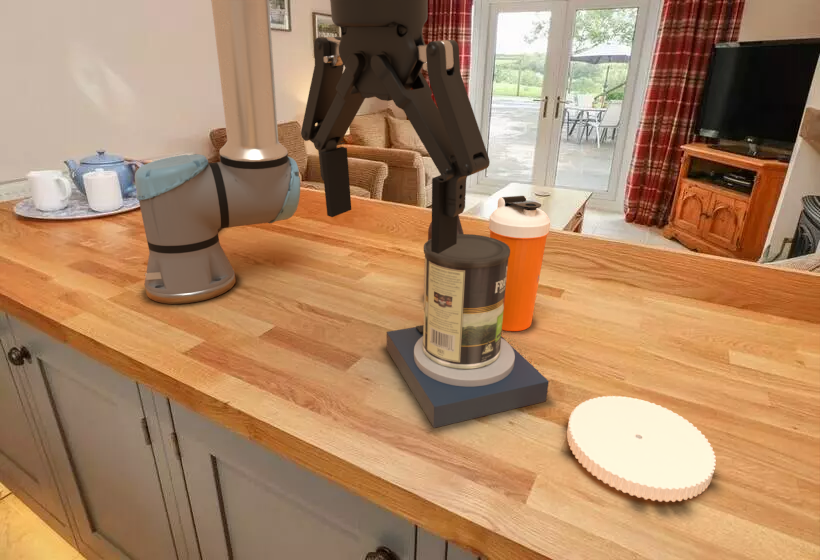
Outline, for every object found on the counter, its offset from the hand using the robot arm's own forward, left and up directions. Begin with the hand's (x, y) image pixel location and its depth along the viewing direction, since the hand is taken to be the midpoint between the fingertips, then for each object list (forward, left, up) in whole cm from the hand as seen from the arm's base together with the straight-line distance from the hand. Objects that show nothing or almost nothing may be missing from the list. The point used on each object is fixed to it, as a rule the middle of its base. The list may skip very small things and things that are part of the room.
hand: (387, 229), depth 47 cm
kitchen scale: (-7, +12, -23) cm, 27 cm away
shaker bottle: (-18, +26, -24) cm, 39 cm away
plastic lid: (+13, +23, -24) cm, 36 cm away
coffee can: (-7, +12, -20) cm, 24 cm away
